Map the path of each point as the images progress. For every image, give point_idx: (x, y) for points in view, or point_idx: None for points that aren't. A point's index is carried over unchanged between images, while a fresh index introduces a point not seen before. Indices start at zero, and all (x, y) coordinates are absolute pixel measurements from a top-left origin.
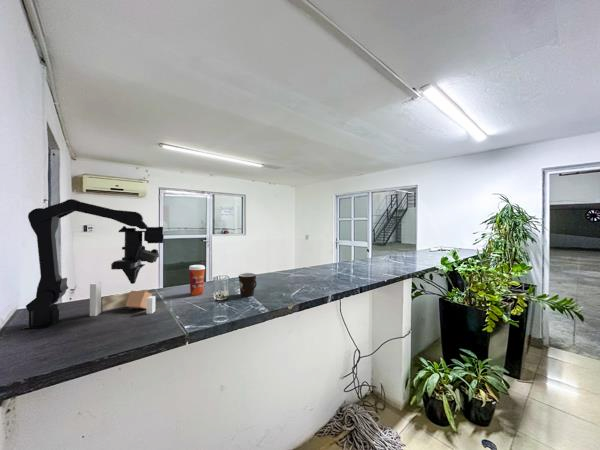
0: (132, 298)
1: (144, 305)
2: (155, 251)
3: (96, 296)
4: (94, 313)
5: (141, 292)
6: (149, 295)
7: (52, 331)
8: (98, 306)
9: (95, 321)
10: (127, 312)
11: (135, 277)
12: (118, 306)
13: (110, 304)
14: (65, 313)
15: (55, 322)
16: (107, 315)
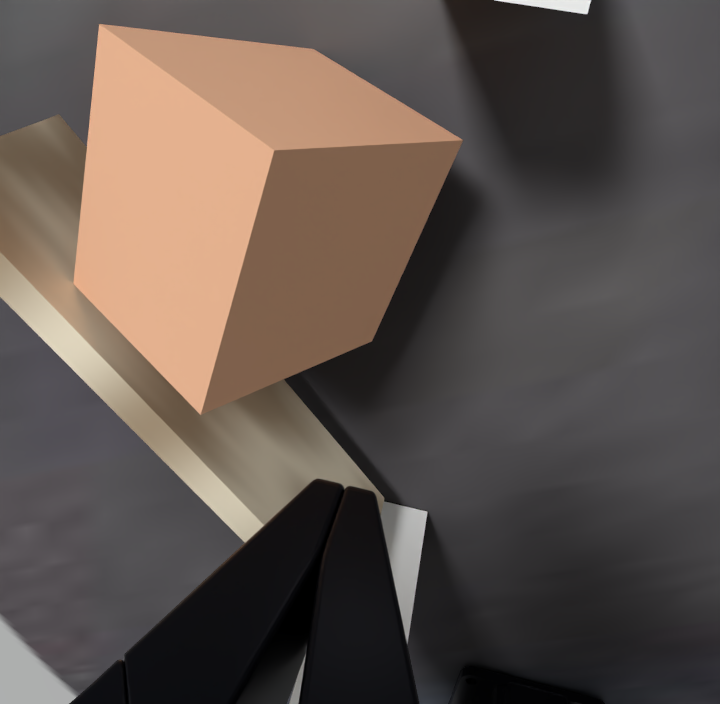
0: (320, 314)
1: (358, 91)
2: None
3: None
4: (423, 537)
5: (276, 219)
6: (188, 59)
7: (704, 667)
8: None
9: (598, 485)
10: (403, 274)
11: (329, 628)
12: (295, 404)
13: None
14: None
15: (539, 689)
16: (445, 433)
